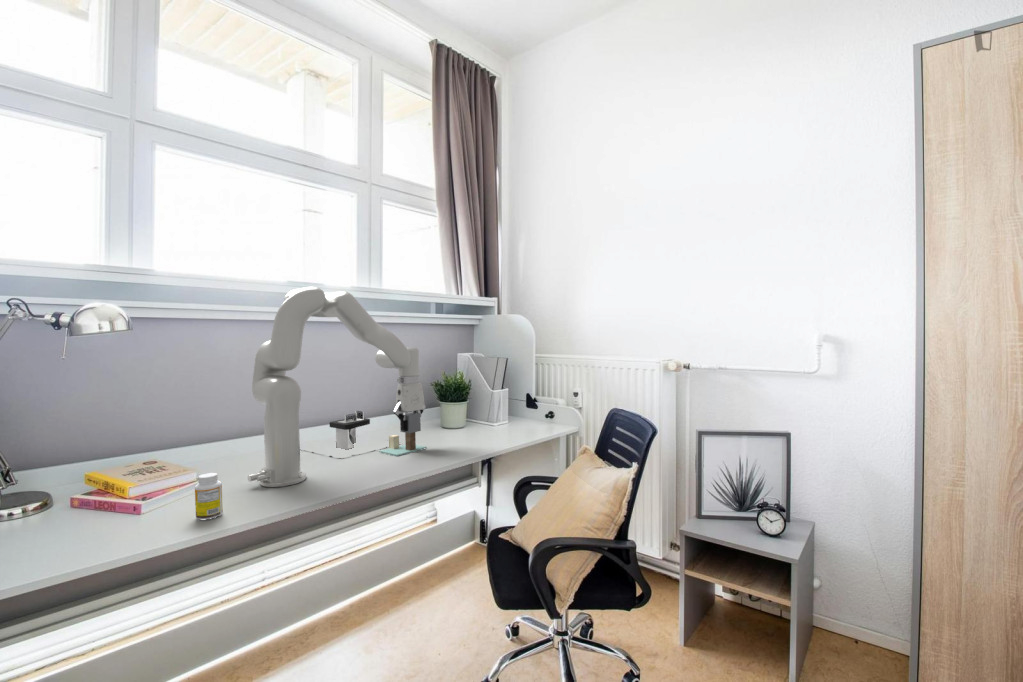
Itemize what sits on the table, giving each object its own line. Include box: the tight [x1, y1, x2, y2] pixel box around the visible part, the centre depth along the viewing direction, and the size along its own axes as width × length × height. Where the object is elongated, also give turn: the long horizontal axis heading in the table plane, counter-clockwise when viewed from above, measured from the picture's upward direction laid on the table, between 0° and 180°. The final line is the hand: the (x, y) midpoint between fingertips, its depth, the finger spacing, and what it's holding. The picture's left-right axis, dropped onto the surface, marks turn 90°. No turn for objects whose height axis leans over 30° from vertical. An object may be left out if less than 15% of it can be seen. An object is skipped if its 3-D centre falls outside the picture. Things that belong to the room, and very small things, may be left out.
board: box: [378, 434, 428, 457], centre depth 180 cm, size 14×10×5 cm
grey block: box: [399, 412, 422, 434], centre depth 179 cm, size 5×5×7 cm
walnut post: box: [404, 432, 417, 451], centre depth 179 cm, size 3×3×6 cm
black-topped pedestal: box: [328, 410, 371, 450], centre depth 188 cm, size 28×26×13 cm
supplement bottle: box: [194, 472, 224, 520], centre depth 117 cm, size 6×6×10 cm
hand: (410, 428), depth 179 cm, fingers closed on grey block, 5 cm apart
